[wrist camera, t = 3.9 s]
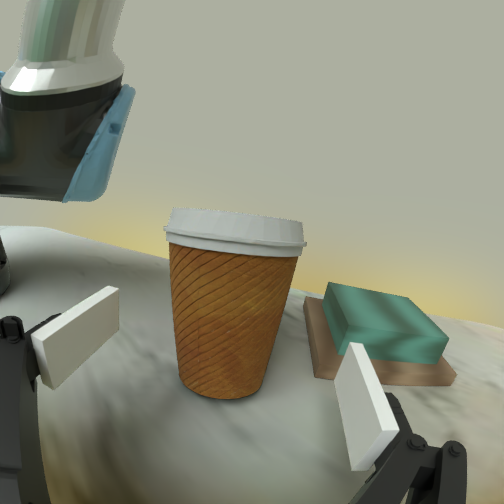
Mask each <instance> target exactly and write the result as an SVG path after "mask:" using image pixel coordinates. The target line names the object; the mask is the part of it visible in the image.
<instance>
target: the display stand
mask: <svg viewBox="0 0 504 504" xmlns="http://www.w3.org/2000/svg"><path fill="white" fill-rule="evenodd" d="M303 308H304V314H305V320H306V326H307V332H308V338H309V344H310V351H311V357H312V364H313V370H314V377H316V378H324V379H332V380H334V379H335V377H336V375H337V372H338V370H339V368H340V365H341V363H342V360H343V358H344V356H345V353H346V351H347V348H348V345H349V343H350V342H354V343H360V344H363V346H364V348H365V350H366V353H367V355H368V357H369V359H370V361H371V364H372V366H373V368H374V370H375V373H376V375H377V377H378V379H379V382H380V384H387V385H409V386H451V384H452V383H453V381H454V379H455V377H456V376H457V374H456V372H455V371H454V370H453V369H452V367H451V366H450V365H449V364H448V362H447V361H446V360H445V359H444V358H443V356H442V353H443V351H444V349H445V347H446V344H447V342H448V340H449V337H448V336H447V335H446V334H445V333H444V332H443V331H442V330H441V329H440V328H439V327H438V326H437V325H436V324H435V323H434V322H433V321H432V320H431V319H430V318H429V317H428V316H427V315H426V314H424V313H423V312H422V311H421V310H420V309H419V308H418V307H417V306H416V305H415V304H414V303H413V302H412V301H411V300H409V298H407V297H402V296H397V295H392V294H387V293H382V292H376V291H371V290H366V289H361V288H356V287H351V286H346V285H342V284H336V283H332V282H328V285H327V289H326V292H325V296H324V299H323V300H322V299H317V298H312V297H307V296H306V298H305V301H304V305H303Z"/></svg>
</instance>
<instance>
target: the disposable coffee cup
mask: <svg viewBox="0 0 504 504" xmlns="http://www.w3.org/2000/svg"><path fill="white" fill-rule="evenodd" d="M164 230H165V231H166V240H167V241H169V252H170V254H169V255H170V279H171V294H172V308H173V321H174V332H175V341H176V352H177V360H178V368H179V376H180V379H181V381H182V382H183V384H184V385H185V386H186V387H187V388H189V389H191V390H192V391H194V392H196V393H198V394H200V395H204V396H207V397H211V398H217V399H234V398H241V397H245V396H248V395H250V394H252V393H254V392H255V391H257V390H258V389H259V388H260V386H261V384H262V381H263V377H264V374H265V371H266V368H267V364H268V361H269V358H270V355H271V351H272V348H273V345H274V341H275V338H276V335H277V331H278V328H279V325H280V321H281V317H282V314H283V311H284V307H285V303H286V300H287V296H288V293H289V289H290V285H291V282H292V278H293V274H294V271H295V267H296V263H297V260H298V256H301V254H302V248H303V247H305V246H306V245H307V242H304V240H303V228H302V222H298V221H293V220H287V219H281V218H273V217H267V216H260V215H252V214H243V213H235V212H227V211H217V210H206V209H193V208H173V209H172V213H171V216H170V219H169V222H168V225H167V226H164Z"/></svg>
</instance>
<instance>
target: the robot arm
mask: <svg viewBox="0 0 504 504" xmlns="http://www.w3.org/2000/svg"><path fill="white" fill-rule="evenodd" d="M124 3H125V0H27V3H26V7H25V12H24V17H23V22H22V28H21V34H20V42H19V51H18V58H17V59H16V61H15V63H14V64H13V65H12V66H11V68H10V69H9V70H8V71H7V72H6V73H5V72H2V71H0V197H14V198H26V199H38V200H50V201H60V202H62V203H66V202H68V201H86V202H90V201H94V200H96V199H98V198H99V197H101V196H102V195H103V193H104V192H105V190H106V188H107V185H108V181H109V178H110V174H111V171H112V167H113V163H114V160H115V157H116V153H117V150H118V146H119V143H120V140H121V136H122V133H123V130H124V127H125V123H126V121H127V118H128V115H129V112H130V108H131V106H132V102H133V98H134V96H135V89H134V88H132V87H129V85H127V84H124V85H123V86H121V81H122V76H123V71H124V64H123V63H122V61H121V60H120V59H119V58H118V56H117V55H116V54H115V53H114V51H113V47H112V44H113V41H114V37H115V33H116V29H117V26H118V22H119V19H120V15H121V12H122V9H123V6H124ZM9 283H10V272H9V263H8V259H7V256H6V253H5V250H4V246H3V243H2V240H1V237H0V295H1V294H3V293H4V292H5V290H6V289H7V288H8V286H9ZM118 330H119V289H118V288H115V287H112V286H109V285H108V286H106V287H105V288H103V289H101V290H100V291H98V292H96V293H95V294H93V295H92V296H90V297H88V298H87V299H85V300H83V301H82V302H80V303H79V304H77V305H75V306H74V307H72V308H71V309H69V310H68V311H66V312H64V313H63V314H61V313H59V314H56V315H52V316H51V317H49V318H47V319H46V320H45V321H43V322H41V323H40V324H38V325H36V326H35V327H33V328H32V329H30V330H29V331H27V332H26V333H24V328H23V323H22V320H21V319H20V318H18V317H16V316H6V317H3V318H2V319H0V335H1V336H0V504H51V502H50V498H49V494H48V489H47V484H46V479H45V474H44V468H43V462H42V455H41V447H40V438H39V427H38V409H37V381H36V377H37V376H38V375H39V374H40V375H41V379H42V382H43V384H45V385H46V386H48V387H49V388H51V389H53V390H55V389H56V388H57V387H58V386H59V385H60V384H61V383H62V382H63V381H64V380H66V379H67V378H68V377H69V376H70V375H71V374H72V373H73V372H74V371H75V370H76V369H77V368H78V367H79V366H80V365H81V364H82V363H83V362H84V361H86V360H87V359H88V358H89V357H90V356H91V355H92V354H93V353H94V352H95V351H96V350H97V349H98V348H99V347H101V346H102V345H103V344H104V343H105V342H106V341H107V340H108V339H109V338H110V337H111V336H112V335H114V334H115V333H116V332H117V331H118ZM334 384H335V389H336V393H337V398H338V403H339V407H340V412H341V417H342V422H343V427H344V432H345V437H346V442H347V448H348V453H349V459H350V464H351V470H352V471H368V470H369V469H370V467H371V466H372V465H373V464H374V463H375V467H376V470H375V472H374V473H373V474H372V475H371V476H370V477H369V478H368V479H367V480H366V481H365V484H364V486H363V487H362V488H361V489H360V491H359V492H358V493H357V494H356V495H355V497H354V498H353V499H352V500H351V501H350V502H349V504H400V502H401V501H402V499H403V497H404V496H405V494H406V492H407V490H408V489H409V492H408V496H407V500H406V504H466V488H467V453H466V449H465V448H464V446H463V445H462V444H461V443H459V442H457V441H447V442H446V443H445V444H444V445H443V446H442V447H441V448H438V447H432V446H428V445H427V442H426V441H425V439H424V438H422V437H421V436H420V435H417V434H413V432H412V430H411V428H410V425H409V423H408V421H407V418H406V416H405V414H404V412H403V410H402V408H401V405H400V403H399V401H398V399H397V398H396V397H395V396H394V395H393V394H392V393H385V392H384V391H383V389H382V386H381V384H380V382H379V379H378V377H377V375H376V373H375V370H374V368H373V366H372V364H371V361H370V359H369V357H368V355H367V353H366V350H365V348H364V346H363V344H360V343H354V342H350V343H349V345H348V348H347V351H346V353H345V356H344V358H343V360H342V363H341V365H340V368H339V370H338V372H337V375H336V377H335V379H334Z"/></svg>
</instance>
